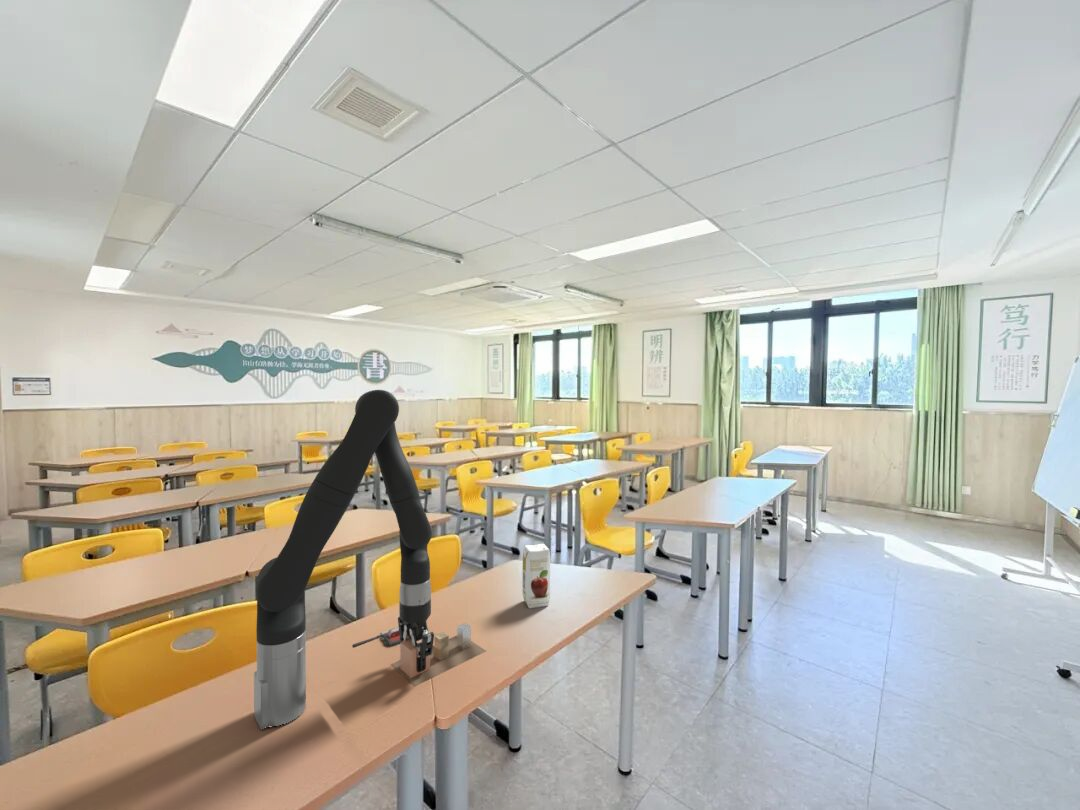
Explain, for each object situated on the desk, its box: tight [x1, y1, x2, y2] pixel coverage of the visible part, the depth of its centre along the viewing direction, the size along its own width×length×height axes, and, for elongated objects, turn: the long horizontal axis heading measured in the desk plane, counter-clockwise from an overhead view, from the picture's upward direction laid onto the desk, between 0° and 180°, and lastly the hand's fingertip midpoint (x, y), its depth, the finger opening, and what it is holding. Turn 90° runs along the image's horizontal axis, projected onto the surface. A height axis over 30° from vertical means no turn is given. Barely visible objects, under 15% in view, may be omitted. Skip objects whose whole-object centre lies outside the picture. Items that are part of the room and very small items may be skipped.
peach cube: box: [399, 639, 430, 678], centre depth 111 cm, size 5×5×7 cm
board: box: [390, 631, 487, 687], centre depth 116 cm, size 21×12×7 cm, turn 134°
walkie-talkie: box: [352, 626, 429, 649], centre depth 125 cm, size 9×4×20 cm
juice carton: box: [521, 543, 551, 609], centre depth 150 cm, size 8×9×19 cm
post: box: [456, 622, 472, 650], centre depth 121 cm, size 3×3×6 cm
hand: (415, 665), depth 111 cm, fingers closed on peach cube, 5 cm apart
